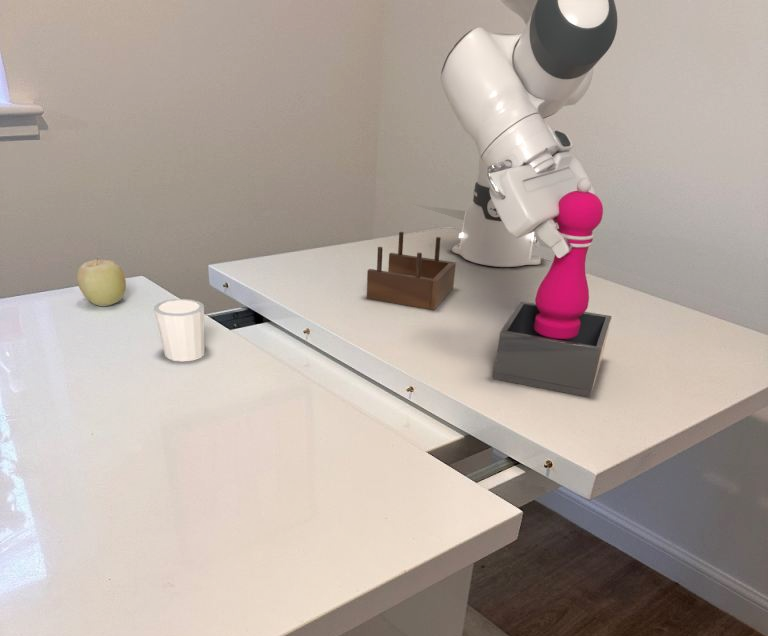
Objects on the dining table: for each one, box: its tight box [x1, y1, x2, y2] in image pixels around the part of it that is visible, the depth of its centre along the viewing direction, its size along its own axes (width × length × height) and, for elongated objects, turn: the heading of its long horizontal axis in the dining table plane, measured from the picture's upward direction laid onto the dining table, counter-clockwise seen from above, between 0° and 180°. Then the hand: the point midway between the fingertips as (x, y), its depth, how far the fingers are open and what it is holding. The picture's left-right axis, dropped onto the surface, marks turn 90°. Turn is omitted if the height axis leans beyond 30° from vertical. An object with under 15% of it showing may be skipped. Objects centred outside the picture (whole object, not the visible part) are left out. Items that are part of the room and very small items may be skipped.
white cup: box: [153, 298, 206, 362], centre depth 102 cm, size 7×7×7 cm
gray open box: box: [493, 301, 612, 398], centre depth 103 cm, size 14×14×7 cm
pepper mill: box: [534, 178, 604, 339], centre depth 96 cm, size 7×7×20 cm
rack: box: [366, 231, 457, 311], centre depth 127 cm, size 12×12×9 cm
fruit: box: [76, 254, 127, 307], centre depth 117 cm, size 8×7×8 cm
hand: (576, 249), depth 95 cm, fingers closed on pepper mill, 5 cm apart
